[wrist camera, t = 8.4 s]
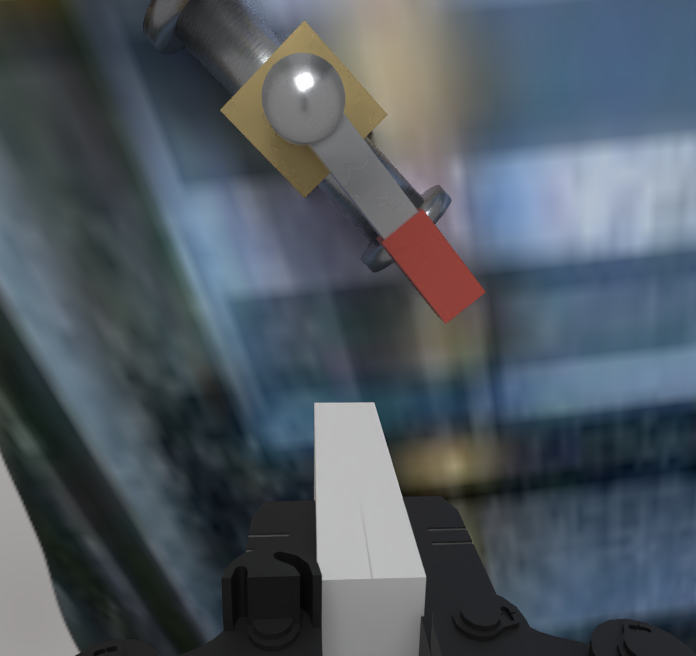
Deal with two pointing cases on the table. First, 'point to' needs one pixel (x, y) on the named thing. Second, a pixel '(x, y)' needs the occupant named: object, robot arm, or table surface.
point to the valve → (246, 88)
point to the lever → (365, 179)
